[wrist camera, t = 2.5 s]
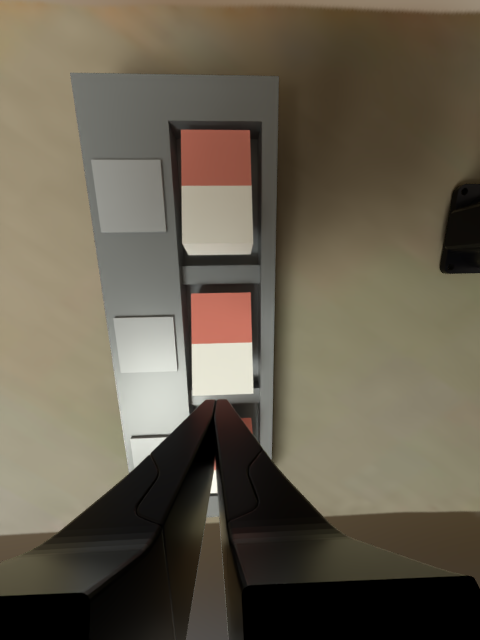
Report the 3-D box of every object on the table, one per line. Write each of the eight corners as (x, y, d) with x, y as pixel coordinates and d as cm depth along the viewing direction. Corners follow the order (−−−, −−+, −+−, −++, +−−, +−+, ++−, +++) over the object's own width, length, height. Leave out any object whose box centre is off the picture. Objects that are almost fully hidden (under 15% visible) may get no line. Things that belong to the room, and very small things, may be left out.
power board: (267, 120, 16) (279, 72, 12) (264, 473, 23) (271, 516, 19) (108, 119, 16) (67, 69, 12) (151, 478, 22) (134, 523, 18)
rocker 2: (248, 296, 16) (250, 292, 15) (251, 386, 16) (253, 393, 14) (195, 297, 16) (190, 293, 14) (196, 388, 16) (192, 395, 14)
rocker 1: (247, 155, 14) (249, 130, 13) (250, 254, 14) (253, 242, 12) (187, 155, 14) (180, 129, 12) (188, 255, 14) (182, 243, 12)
